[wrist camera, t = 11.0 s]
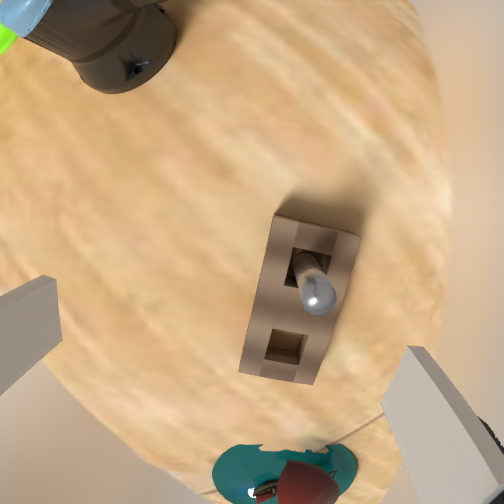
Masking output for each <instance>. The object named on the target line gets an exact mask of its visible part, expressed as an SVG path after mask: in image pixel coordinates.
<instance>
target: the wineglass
mask: <svg viewBox="0 0 504 504" xmlns="http://www.w3.org/2000/svg"><path fill="white" fill-rule="evenodd" d="M17 37H18V36H17V34H16V33H15V32H13V31H11V30H10V29H8V28H6V27H5V26H4V25H3V24H2V23H1V21H0V55H1V54H2V53H3V52H5V51H6V50H7V49H8V48H9V47H10V46H11V45H12V44H13V42H14V41H15V40H16V39H17Z"/></svg>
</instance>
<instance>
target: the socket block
mask: <svg viewBox="0 0 504 504" xmlns="http://www.w3.org/2000/svg"><path fill="white" fill-rule="evenodd" d="M360 239H361V237H359V236H357V235H356V234H354V233H351V232H347V231H343V230H339V229H334V228H330V227H326V226H322V225H318V224H314V223H310V222H305V221H301V220H297V219H292V218H288V217H284V216H279V215H275V214H274V216H273V220H272V225H271V229H270V234H269V238H268V243H267V247H266V252H265V256H264V260H263V265H262V269H261V274H260V278H259V282H258V287H257V291H256V296H255V300H254V304H253V308H252V313H251V317H250V321H249V326H248V330H247V334H246V338H245V343H244V347H243V351H242V355H241V360H240V365H239V370H238V372H241V373H246V374H250V375H255V376H261V377H266V378H271V379H277V380H283V381H289V382H295V383H301V384H308V385H313V384H314V381H315V378H316V376H317V373H318V371H319V368H320V366H321V363H322V360H323V358H324V355H325V352H326V349H327V347H328V344H329V341H330V338H331V335H332V332H333V329H334V326H335V323H336V320H337V317H338V314H339V311H340V308H341V305H342V302H343V299H344V296H345V292H346V289H347V286H348V282H349V279H350V276H351V272H352V269H353V265H354V261H355V258H356V254H357V250H358V247H359V243H360ZM293 247H296V248H301V249H305V250H310V251H314V252H318V253H323V254H325V258H324V262H323V265H322V270H323V272H324V273H325V275H326V277H327V278H328V280H329V281H330V283H331V285H332V286H333V288H334V289H335V291H336V294H337V300H336V304H335V306H334V307H333V309H332V310H331V311H329V312H328V313H326V314H323V315H313V314H311V313H309V312H308V311H307V310H306V309H305V308H304V306H303V303H302V300H301V296H300V292H299V288H298V285H297V281H296V280H295V279H291V278H286V274H287V270H288V266H289V262H290V258H291V254H292V249H293ZM272 328H273V329H278V330H283V331H289V332H294V333H299V334H302V338H301V341H300V344H299V347H298V350H297V352H294V351H289V350H283V349H278V348H273V347H268V343H269V339H270V336H271V332H272Z"/></svg>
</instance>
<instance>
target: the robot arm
mask: <svg viewBox="0 0 504 504" xmlns="http://www.w3.org/2000/svg"><path fill="white" fill-rule="evenodd" d="M164 1H167V0H2V1H1V4H0V21H1V23H2V24H3V25H4V26H5V27H6V28H8V29H10V30H11V31H13V32H15V33H16V34H17V36H19V37H22V38H24V39H26V40H29V41H31V42H33V43H35V44H37V45H39V46H41V47H43V48H45V49H48V50H50V51H52V52H54V53H56V54H58V55H60V56H62V57H64V58H66V59H67V60H69V61H71V63H72V64H73V66H74V67H75V69H76V70H77V72H78V73H79V75H80V77H81V79H82V80H83V81H84V82H85V83H86V84H87V85H88V86H90V87H91V88H93V89H95V90H97V91H99V92H102V93H106V94H118V93H123V92H127V91H130V90H132V89H134V88H136V87H138V86H140V85H142V84H144V83H145V82H147V81H148V80H149V79H151V78H152V77H153V76H154V75H155V74H156V73H157V72H158V71H159V70H160V69H161V68H162V67H163V66H164V64H165V63H166V62H167V60H168V59H169V57H170V55H171V54H172V51H173V49H174V46H175V43H176V37H177V31H176V26H175V23H174V21H173V20H172V18H171V16H170V15H169V13H168V12H167V11H166V10H165V9H164V8H163V7H161V6H160V5H158V3H161V2H164ZM61 341H62V333H61V325H60V317H59V308H58V297H57V283H56V279H54V278H51V277H48V276H45V275H42V276H40V277H37V278H35V279H33V280H31V281H29V282H27V283H25V284H23V285H21V286H19V287H18V288H16V289H14V290H12V291H10V292H8V293H6V294H4V295H2V296H0V396H1V395H2V394H3V393H4V392H5V391H6V390H7V389H8V388H9V387H11V386H12V385H13V384H14V383H15V382H16V381H17V380H18V379H19V378H20V377H21V376H23V375H24V374H25V373H26V372H27V371H28V370H29V369H30V368H31V367H33V366H34V365H35V364H36V363H37V362H38V361H39V360H40V359H42V358H43V357H44V356H45V355H46V354H47V353H48V352H50V351H51V350H52V349H53V348H54V347H55V346H57V345H58V344H59V343H60V342H61ZM380 404H381V406H382V409H383V411H384V413H385V416H386V418H387V421H388V423H389V425H390V428H391V430H392V433H393V435H394V437H395V440H396V442H397V445H398V447H399V450H400V452H401V455H402V457H403V460H404V463H405V465H406V468H407V470H408V473H409V476H410V478H411V481H412V484H413V486H414V489H415V492H416V495H417V497H418V500H419V503H420V504H504V448H503V446H501V443H500V441H499V440H498V438H495V434H494V433H493V431H492V430H491V429H490V427H489V426H488V424H486V423H485V422H484V421H483V420H481V419H480V418H479V417H478V416H476V414H475V413H474V411H473V410H472V409H471V407H470V406H469V405H468V403H467V402H466V401H465V399H464V398H463V396H462V395H461V394H460V392H459V391H458V390H457V389H456V387H455V386H454V385H453V383H452V382H451V381H450V379H449V378H448V377H447V376H446V374H445V373H444V372H443V371H442V369H441V368H440V367H439V365H438V364H437V363H436V362H435V360H434V359H433V358H432V357H431V356H430V354H429V353H428V352H427V351H426V349H425V348H424V347H420V346H407V347H406V349H405V352H404V354H403V356H402V359H401V361H400V363H399V365H398V368H397V370H396V372H395V374H394V376H393V378H392V381H391V383H390V385H389V387H388V389H387V391H386V393H385V395H384V397H383V399H382V401H381V403H380Z"/></svg>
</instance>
